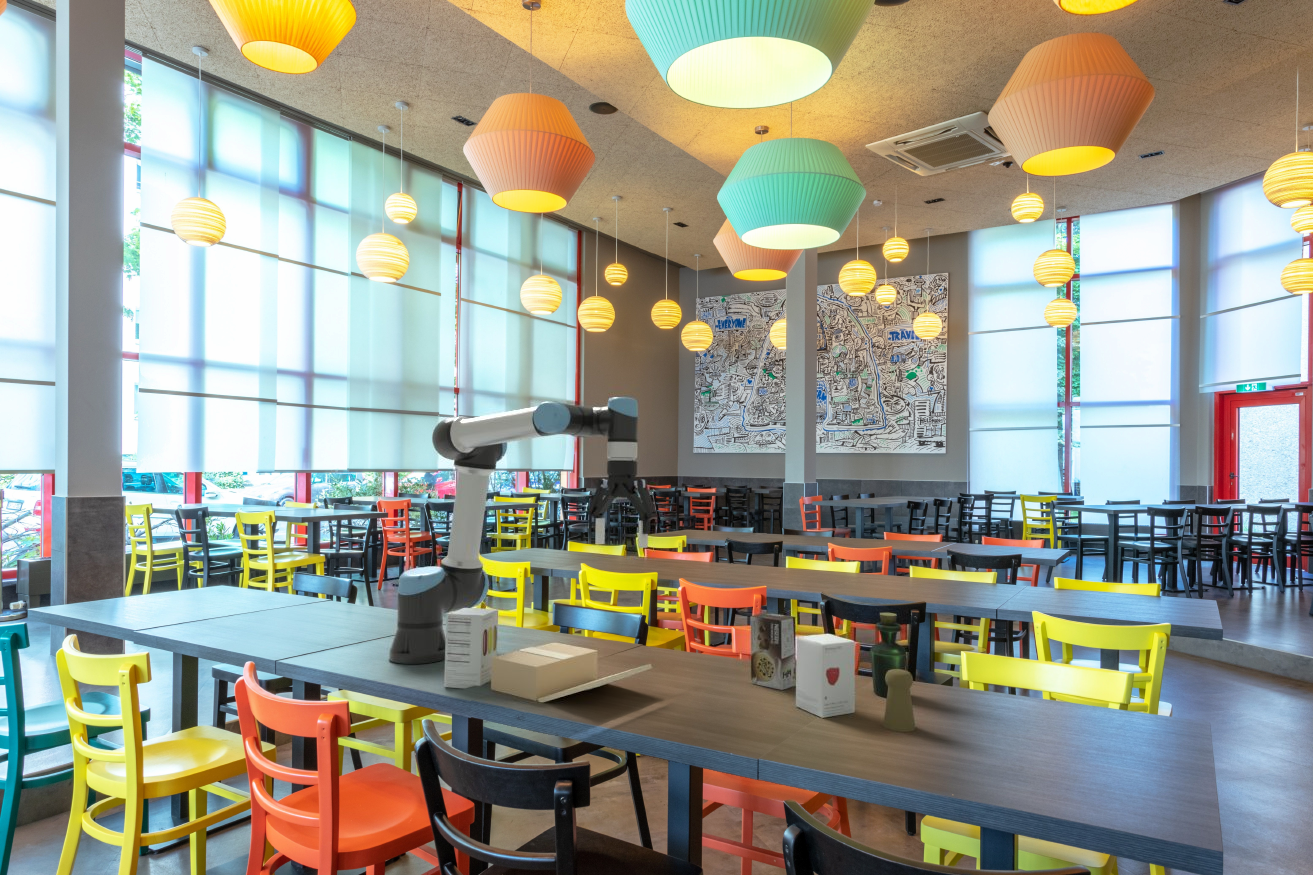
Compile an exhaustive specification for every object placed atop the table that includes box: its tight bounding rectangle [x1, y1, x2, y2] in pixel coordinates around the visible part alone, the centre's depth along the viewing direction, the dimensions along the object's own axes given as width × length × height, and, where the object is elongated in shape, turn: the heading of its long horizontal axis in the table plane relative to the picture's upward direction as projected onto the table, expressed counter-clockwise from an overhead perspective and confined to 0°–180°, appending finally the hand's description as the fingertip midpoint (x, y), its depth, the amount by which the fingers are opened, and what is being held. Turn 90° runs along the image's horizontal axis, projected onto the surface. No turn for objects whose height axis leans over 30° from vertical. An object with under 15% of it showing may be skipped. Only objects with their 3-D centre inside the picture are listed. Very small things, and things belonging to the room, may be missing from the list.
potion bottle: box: [869, 612, 908, 698], centre depth 173 cm, size 8×8×18 cm
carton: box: [490, 642, 599, 702], centre depth 174 cm, size 14×20×8 cm
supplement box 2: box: [795, 633, 856, 719], centre depth 161 cm, size 9×9×15 cm
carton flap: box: [537, 663, 653, 704], centre depth 165 cm, size 1×20×16 cm
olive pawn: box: [883, 669, 916, 733], centre depth 150 cm, size 6×6×11 cm
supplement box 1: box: [443, 607, 499, 689], centre depth 178 cm, size 10×9×17 cm
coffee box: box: [750, 612, 797, 691], centre depth 180 cm, size 9×6×16 cm
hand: (621, 546), depth 187 cm, fingers open, 13 cm apart
